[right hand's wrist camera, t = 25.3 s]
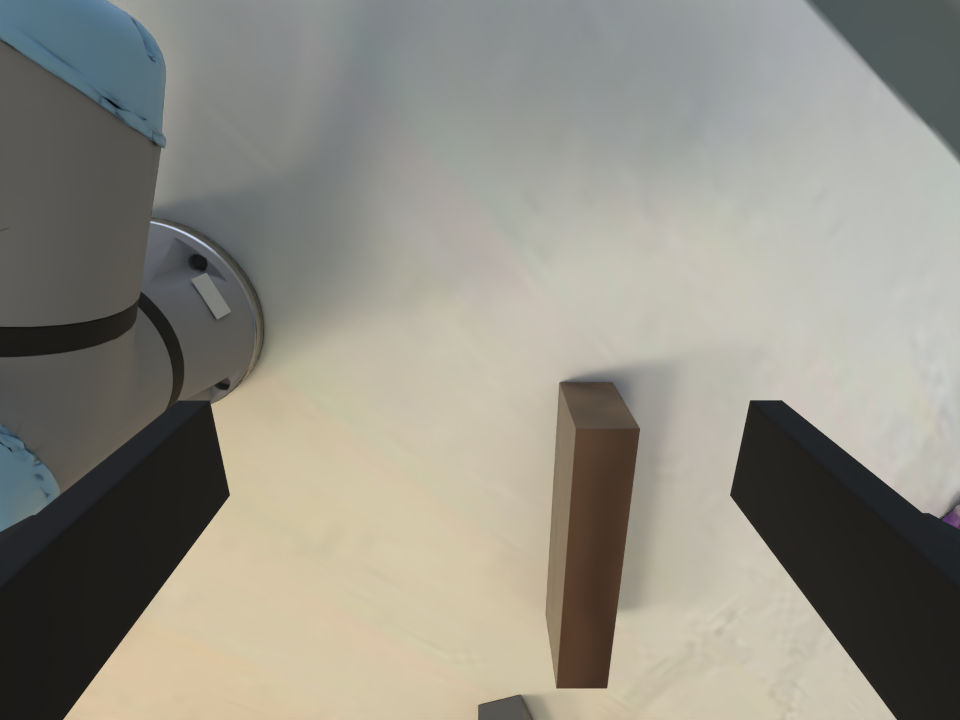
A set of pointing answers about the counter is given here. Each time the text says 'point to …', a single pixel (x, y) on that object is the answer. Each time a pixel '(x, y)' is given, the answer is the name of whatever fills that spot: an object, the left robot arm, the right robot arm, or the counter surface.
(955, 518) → the figurine
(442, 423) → the counter surface
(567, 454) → the walnut beam
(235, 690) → the counter surface
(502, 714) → the slate block
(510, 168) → the counter surface
